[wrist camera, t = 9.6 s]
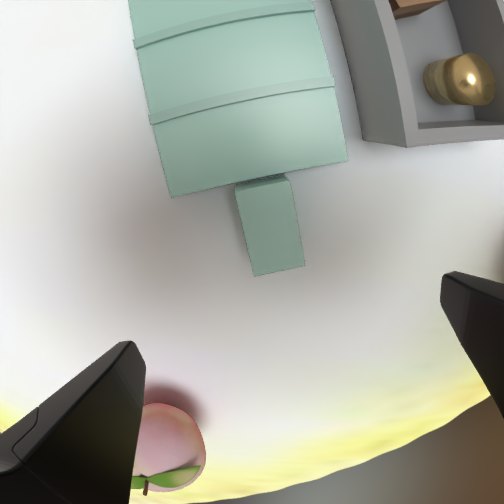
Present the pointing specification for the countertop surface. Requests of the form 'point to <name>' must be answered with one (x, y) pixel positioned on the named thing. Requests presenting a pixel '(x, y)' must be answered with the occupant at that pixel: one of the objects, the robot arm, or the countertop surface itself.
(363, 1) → the tub
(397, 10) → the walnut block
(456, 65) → the round knob
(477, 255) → the countertop surface
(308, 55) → the lid
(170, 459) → the decorative fruit
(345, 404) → the countertop surface
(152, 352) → the countertop surface
